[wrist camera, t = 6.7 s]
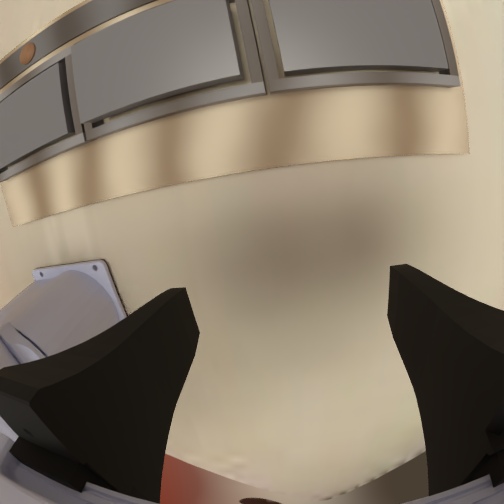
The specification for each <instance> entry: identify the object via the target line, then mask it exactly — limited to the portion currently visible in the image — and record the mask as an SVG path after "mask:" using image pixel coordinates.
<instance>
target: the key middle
mask: <svg viewBox="0 0 504 504" xmlns="http://www.w3.org/2000/svg"><path fill="white" fill-rule="evenodd" d="M71 56H72V67H73V76H74V84H75V91H76V98H77V105H78V111H79V117H80V123H81V124H84V123H95V122H98V121H100V120H103V119H105V118H108V117H111V116H113V115H116V114H119V113H121V112H124V111H127V110H130V109H133V108H136V107H138V106H141V105H145V104H148V103H151V102H154V101H157V100H160V99H164V98H167V97H171V96H174V95H178V94H181V93H185V92H189V91H193V90H197V89H201V88H205V87H209V86H213V85H218V84H222V83H227V82H232V81H237V80H242V79H244V74H243V68H242V63H241V58H240V53H239V48H238V43H237V38H236V33H235V28H234V23H233V18H232V13H231V8H230V3H229V0H176V1H173V2H170V3H167V4H164V5H161V6H158V7H155V8H153V9H150V10H147V11H145V12H142V13H140V14H137V15H135V16H132V17H130V18H127V19H125V20H123V21H121V22H118V23H116V24H114V25H112V26H110V27H108V28H105V29H103V30H101V31H99V32H97V33H95V34H93V35H91V36H90V37H88V38H86V39H84V40H82V41H80V42H78V43H77V44H75V45H73V46H71Z"/></svg>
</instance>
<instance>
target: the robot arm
mask: <svg viewBox="0 0 504 504" xmlns="http://www.w3.org/2000/svg"><path fill="white" fill-rule="evenodd" d="M95 265H96V266H97V268H98V269H97V268H96V267H95ZM32 274H33V277H34V279H35V281H34V282H33V283H32V284H31V285H29V286H28V287H27V288H26V289H25V290H23V291H22V292H21V293H20V294H19V295H17V296H16V297H15V298H14V299H13V300H11V301H10V302H9V303H8V304H7V305H6V306H4V307H3V308H2V309H1V310H0V504H160V490H161V478H162V470H163V463H164V456H165V450H166V445H167V440H168V435H169V430H170V426H171V422H172V417H173V413H174V410H175V407H176V404H177V401H178V398H179V396H180V393H181V390H182V388H183V385H184V383H185V380H186V377H187V375H188V372H189V370H190V367H191V364H192V362H193V359H194V356H195V352H196V348H197V344H198V339H199V334H200V332H199V329H198V326H197V323H196V320H195V317H194V313H193V310H192V307H191V304H190V301H189V298H188V294H187V291H186V288H172V289H169V290H167V291H165V292H163V293H161V294H160V295H158V296H157V297H155V298H154V299H152V300H151V301H149V302H148V303H146V304H145V305H143V306H142V307H140V308H139V309H138V310H136V311H135V312H133V313H132V314H130V315H129V316H126V313H125V311H124V309H123V306H122V304H121V301H120V299H119V296H118V294H117V291H116V289H115V286H114V283H113V281H112V278H111V275H110V273H109V270H108V267H107V265H106V263H105V262H104V261H103V260H95V261H87V262H80V263H73V264H65V265H58V266H51V267H44V268H37V269H34V270H33V271H32ZM387 316H388V320H389V324H390V327H391V331H392V334H393V338H394V341H395V343H396V346H397V348H398V350H399V353H400V355H401V358H402V360H403V363H404V365H405V368H406V370H407V373H408V375H409V378H410V380H411V383H412V386H413V388H414V392H415V395H416V398H417V403H418V407H419V412H420V416H421V421H422V427H423V433H424V439H425V446H426V455H427V465H428V481H429V482H428V483H429V496H428V497H425V498H421V499H417V500H414V501H410V502H406V503H401V504H504V311H503V310H500V309H497V308H494V307H492V306H489V305H487V304H484V303H482V302H479V301H477V300H474V299H472V298H470V297H468V296H466V295H464V294H462V293H460V292H458V291H456V290H454V289H452V288H450V287H448V286H447V285H445V284H443V283H441V282H439V281H438V280H436V279H434V278H432V277H431V276H429V275H427V274H425V273H424V272H422V271H420V270H418V269H416V268H414V267H412V266H410V265H408V264H403V265H395V266H390V282H389V300H388V314H387Z"/></svg>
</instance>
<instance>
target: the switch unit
mask: <svg viewBox="0 0 504 504" xmlns="http://www.w3.org/2000/svg"><path fill="white" fill-rule="evenodd" d="M173 1H176V0H85V1H83V2H82V3H80V4H78V5H76V6H75V7H73V8H71V9H70V10H68V11H66V12H65V13H63V14H62V15H60V16H59V17H57V18H55V19H54V20H52V21H51V22H49V23H48V24H47V25H45V26H44V27H42V28H41V29H39V30H38V31H37V32H35V33H34V34H32V35H31V36H30V37H28V38H27V39H26V40H25V41H23V42H22V43H21V44H19V45H18V46H17V47H16V48H14V49H13V50H12V51H11V52H10V53H8V54H7V55H6V56H5V57H4V58H3V59H1V60H0V103H1V102H2V101H3V100H4V99H6V98H7V97H8V96H10V95H11V94H12V93H14V92H15V91H16V90H18V89H19V88H20V87H22V86H23V85H24V84H26V83H27V82H29V81H30V80H32V79H33V78H35V77H36V76H38V75H39V74H41V73H42V72H44V71H45V70H47V69H48V68H50V67H52V66H53V65H55V64H56V63H65V64H66V74H67V82H68V90H69V98H70V104H71V111H72V117H73V123H74V128H75V134H74V135H72V136H69V137H67V138H65V139H63V140H61V141H58V142H56V143H54V144H52V145H50V146H48V147H46V148H44V149H42V150H40V151H38V152H36V153H34V154H32V155H30V156H28V157H26V158H25V159H23V160H21V161H19V162H17V163H15V164H14V165H12V166H10V167H8V168H6V169H3V170H0V182H1V186H2V190H3V194H4V198H5V202H6V205H7V209H8V212H9V216H10V219H11V222H12V226H13V227H15V226H18V225H21V224H24V223H27V222H30V221H34V220H37V219H40V218H43V217H46V216H50V215H53V214H57V213H60V212H63V211H67V210H70V209H74V208H78V207H81V206H85V205H89V204H92V203H96V202H100V201H104V200H108V199H112V198H116V197H120V196H124V195H129V194H133V193H137V192H141V191H146V190H150V189H155V188H160V187H164V186H169V185H174V184H179V183H184V182H189V181H194V180H200V179H205V178H211V177H216V176H222V175H228V174H234V173H240V172H246V171H253V170H260V169H266V168H274V167H281V166H289V165H296V164H305V163H313V162H323V161H332V160H343V159H354V158H366V157H380V156H397V155H418V154H470V153H469V135H468V123H467V113H466V105H465V97H464V90H463V84H462V78H461V72H460V67H459V62H458V57H457V53H456V48H455V44H454V40H453V36H452V32H451V29H450V25H449V21H448V18H447V15H446V11H445V8H444V5H443V2H442V0H431V2H432V5H433V8H434V12H435V15H436V18H437V22H438V25H439V29H440V33H441V37H442V41H443V45H444V49H445V54H446V58H447V63H448V68H449V69H446V70H442V71H438V72H432V71H416V70H347V71H330V72H317V73H307V74H298V75H289V76H284V71H283V66H282V61H281V56H280V51H279V46H278V41H277V37H276V32H275V27H274V23H273V18H272V14H271V10H270V6H269V1H268V0H229V3H230V8H231V13H232V18H233V23H234V28H235V33H236V38H237V43H238V48H239V53H240V58H241V63H242V68H243V74H244V79H242V80H237V81H232V82H227V83H222V84H218V85H213V86H209V87H205V88H201V89H197V90H193V91H189V92H185V93H181V94H178V95H174V96H171V97H167V98H164V99H160V100H157V101H154V102H151V103H148V104H145V105H141V106H138V107H136V108H133V109H130V110H127V111H124V112H121V113H119V114H116V115H113V116H111V117H108V118H105V119H103V120H100V121H98V122H95V123H84V124H81V123H80V117H79V111H78V105H77V98H76V91H75V84H74V76H73V67H72V56H71V46H73V45H75V44H77V43H78V42H80V41H82V40H84V39H86V38H88V37H90V36H91V35H93V34H95V33H97V32H99V31H101V30H103V29H105V28H108V27H110V26H112V25H114V24H116V23H118V22H121V21H123V20H125V19H127V18H130V17H132V16H135V15H137V14H140V13H142V12H145V11H147V10H150V9H153V8H155V7H158V6H161V5H164V4H167V3H170V2H173Z"/></svg>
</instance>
